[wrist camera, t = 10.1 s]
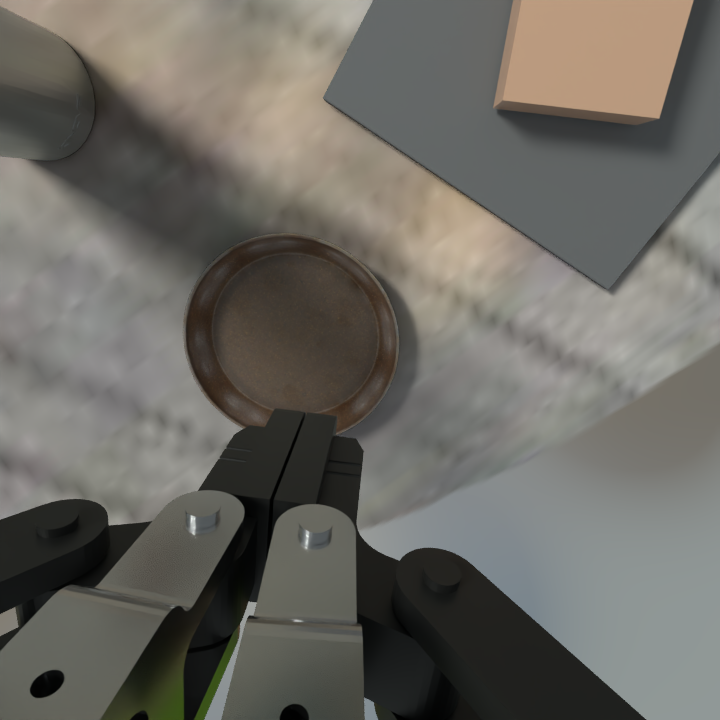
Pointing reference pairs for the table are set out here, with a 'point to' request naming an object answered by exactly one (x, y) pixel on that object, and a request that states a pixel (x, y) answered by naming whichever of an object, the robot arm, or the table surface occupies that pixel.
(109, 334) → the table surface
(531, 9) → the tan rectangular block
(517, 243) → the table surface
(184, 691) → the robot arm
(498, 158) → the mat
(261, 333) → the plant saucer
